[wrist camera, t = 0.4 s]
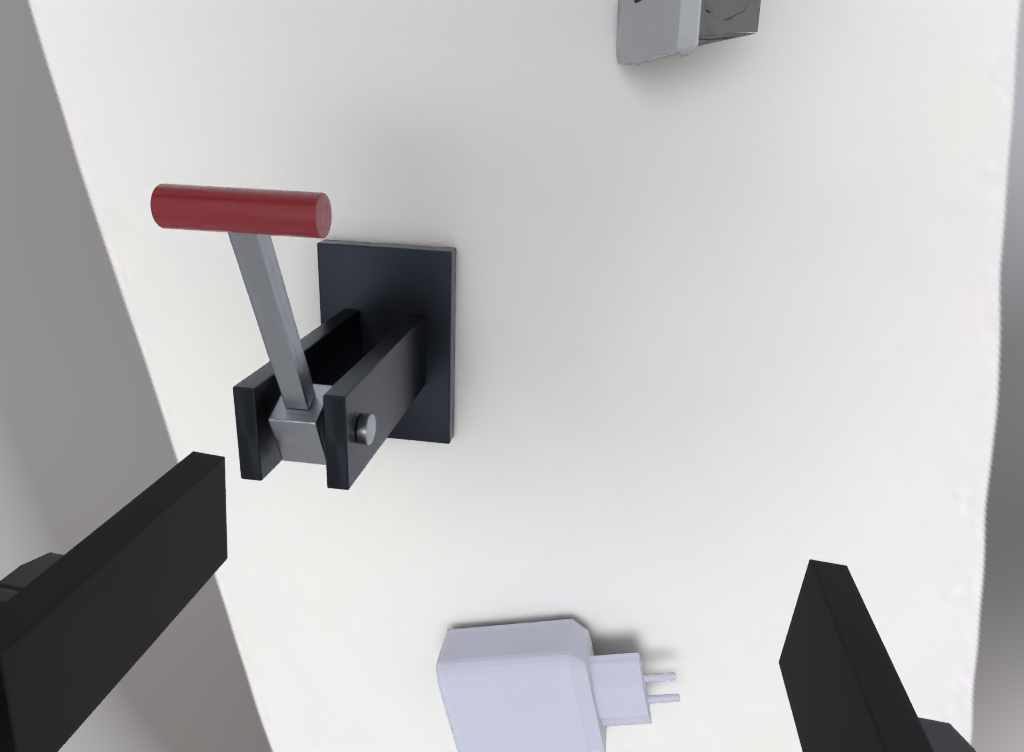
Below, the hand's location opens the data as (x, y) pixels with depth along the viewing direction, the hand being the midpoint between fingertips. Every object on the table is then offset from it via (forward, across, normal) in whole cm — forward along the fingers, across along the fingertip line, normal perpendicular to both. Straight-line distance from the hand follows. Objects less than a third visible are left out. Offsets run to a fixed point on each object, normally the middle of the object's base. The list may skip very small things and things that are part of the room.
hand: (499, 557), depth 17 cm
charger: (+28, +3, -28) cm, 40 cm away
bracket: (+28, -11, -6) cm, 31 cm away
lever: (+15, -11, 0) cm, 18 cm away
